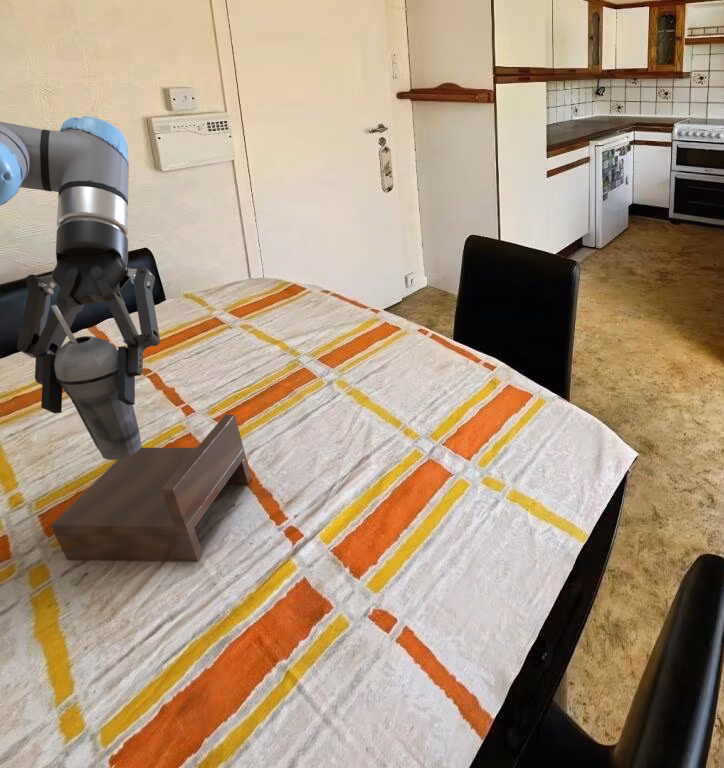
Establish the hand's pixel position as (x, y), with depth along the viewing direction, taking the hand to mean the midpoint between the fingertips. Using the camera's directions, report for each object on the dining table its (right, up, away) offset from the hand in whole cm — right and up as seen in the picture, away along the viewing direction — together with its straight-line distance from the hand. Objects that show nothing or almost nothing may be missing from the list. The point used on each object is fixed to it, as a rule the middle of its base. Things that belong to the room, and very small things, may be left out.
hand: (89, 405), depth 73 cm
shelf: (-1, -17, +18) cm, 25 cm away
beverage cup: (-1, -6, +7) cm, 9 cm away
